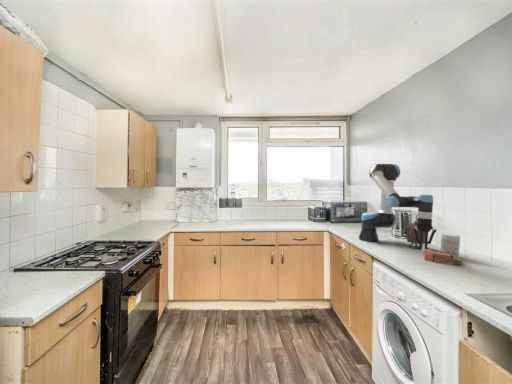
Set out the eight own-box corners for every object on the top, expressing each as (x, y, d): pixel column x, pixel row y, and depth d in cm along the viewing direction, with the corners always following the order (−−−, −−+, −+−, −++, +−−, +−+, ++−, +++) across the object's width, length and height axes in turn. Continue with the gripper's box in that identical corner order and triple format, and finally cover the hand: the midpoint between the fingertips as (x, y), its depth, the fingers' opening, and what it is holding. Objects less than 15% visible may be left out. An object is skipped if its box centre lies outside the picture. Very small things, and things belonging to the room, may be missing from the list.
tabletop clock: (414, 244, 181) (415, 213, 180) (428, 247, 173) (429, 214, 172) (406, 247, 173) (407, 214, 172) (420, 250, 165) (421, 216, 164)
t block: (423, 254, 156) (424, 248, 156) (448, 258, 149) (448, 252, 148) (424, 259, 145) (425, 253, 145) (451, 264, 138) (451, 257, 138)
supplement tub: (442, 252, 161) (443, 232, 160) (460, 256, 153) (461, 234, 153) (438, 255, 154) (439, 234, 154) (457, 259, 147) (458, 236, 146)
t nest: (432, 255, 154) (432, 251, 154) (457, 259, 147) (457, 254, 146) (433, 261, 142) (434, 256, 142) (461, 266, 135) (461, 261, 135)
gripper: (412, 217, 150) (411, 252, 151) (438, 219, 143) (436, 256, 144) (412, 216, 157) (411, 250, 158) (436, 218, 149) (435, 253, 150)
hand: (423, 253), depth 151 cm, fingers closed
